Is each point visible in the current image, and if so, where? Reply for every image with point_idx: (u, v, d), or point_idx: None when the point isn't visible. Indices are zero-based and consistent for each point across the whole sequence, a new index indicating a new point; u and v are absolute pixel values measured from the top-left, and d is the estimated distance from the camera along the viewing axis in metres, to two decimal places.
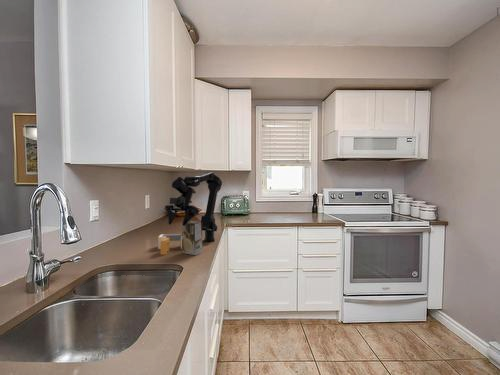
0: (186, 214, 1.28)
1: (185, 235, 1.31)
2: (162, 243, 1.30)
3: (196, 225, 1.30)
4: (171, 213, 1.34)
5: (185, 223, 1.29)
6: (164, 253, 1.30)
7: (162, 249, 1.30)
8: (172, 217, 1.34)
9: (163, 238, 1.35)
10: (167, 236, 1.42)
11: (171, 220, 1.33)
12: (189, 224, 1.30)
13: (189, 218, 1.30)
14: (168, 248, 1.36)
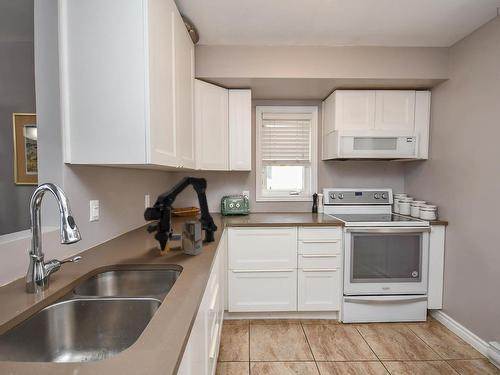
0: None
1: (185, 235, 1.31)
2: None
3: (196, 225, 1.30)
4: None
5: (163, 248, 1.29)
6: (164, 253, 1.30)
7: None
8: None
9: None
10: None
11: None
12: (189, 224, 1.30)
13: (164, 243, 1.28)
14: (168, 248, 1.36)
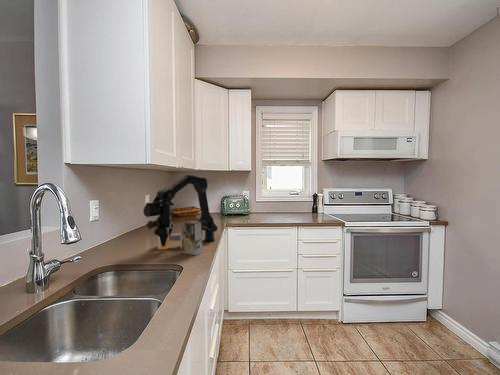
0: None
1: (185, 235, 1.31)
2: None
3: (196, 225, 1.30)
4: None
5: (164, 244, 1.29)
6: (164, 248, 1.30)
7: (161, 244, 1.30)
8: None
9: None
10: None
11: None
12: (189, 224, 1.30)
13: (165, 238, 1.28)
14: (168, 243, 1.36)
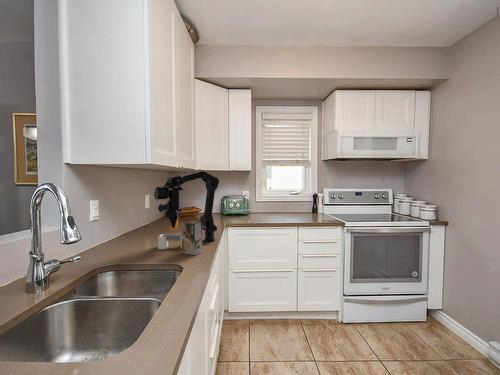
0: None
1: (185, 235, 1.31)
2: None
3: (196, 225, 1.30)
4: None
5: (173, 225, 1.39)
6: (174, 229, 1.40)
7: (171, 225, 1.40)
8: None
9: None
10: (167, 236, 1.42)
11: None
12: (189, 224, 1.30)
13: (174, 220, 1.38)
14: (177, 225, 1.46)
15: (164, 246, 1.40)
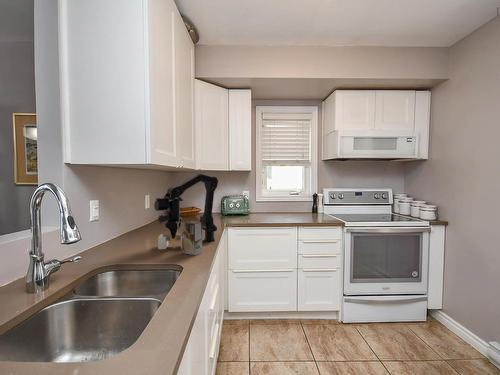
0: None
1: (185, 235, 1.31)
2: None
3: (196, 225, 1.30)
4: None
5: (173, 236, 1.40)
6: (174, 240, 1.40)
7: (171, 236, 1.40)
8: None
9: None
10: (167, 236, 1.42)
11: None
12: (189, 224, 1.30)
13: (174, 231, 1.39)
14: None
15: (164, 246, 1.40)
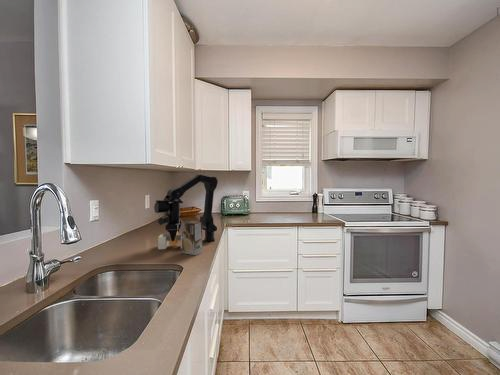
0: None
1: (185, 235, 1.31)
2: None
3: (196, 225, 1.30)
4: None
5: (173, 239, 1.39)
6: (174, 245, 1.41)
7: (171, 241, 1.40)
8: None
9: None
10: (167, 236, 1.42)
11: None
12: (189, 224, 1.30)
13: (174, 233, 1.38)
14: None
15: (164, 246, 1.40)
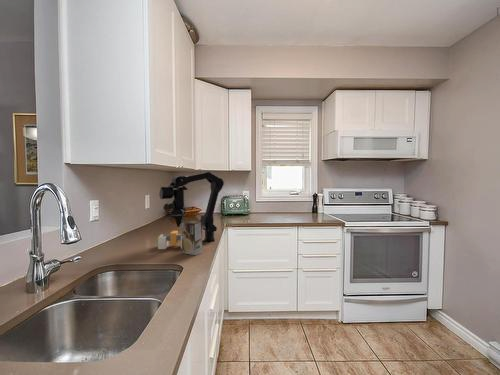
0: None
1: (185, 235, 1.31)
2: (172, 235, 1.40)
3: (196, 225, 1.30)
4: None
5: (179, 224, 1.42)
6: (174, 245, 1.41)
7: (171, 241, 1.40)
8: None
9: (172, 231, 1.45)
10: (167, 236, 1.42)
11: None
12: (189, 224, 1.30)
13: (179, 219, 1.42)
14: None
15: (164, 246, 1.40)
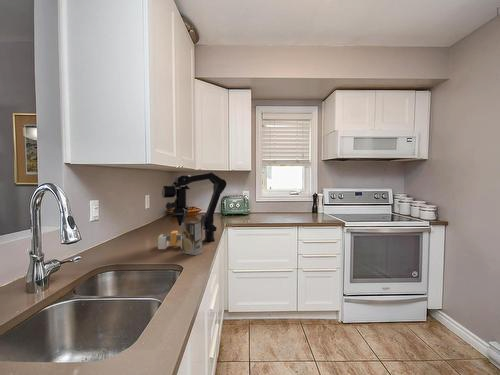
0: None
1: (185, 235, 1.31)
2: (172, 235, 1.40)
3: (196, 225, 1.30)
4: None
5: (180, 223, 1.44)
6: (174, 245, 1.41)
7: (171, 241, 1.40)
8: None
9: (172, 231, 1.45)
10: (167, 236, 1.42)
11: (182, 218, 1.54)
12: (189, 224, 1.30)
13: (181, 218, 1.43)
14: None
15: (164, 246, 1.40)
